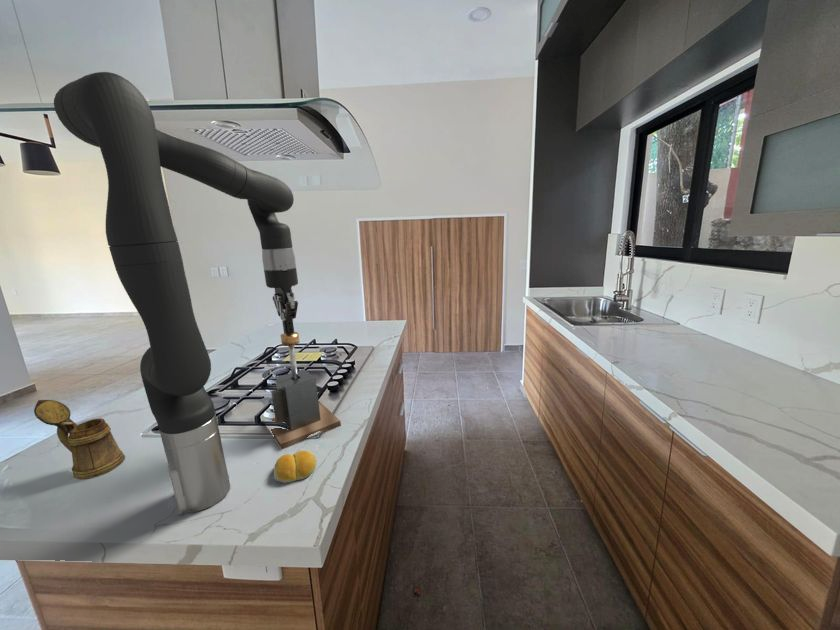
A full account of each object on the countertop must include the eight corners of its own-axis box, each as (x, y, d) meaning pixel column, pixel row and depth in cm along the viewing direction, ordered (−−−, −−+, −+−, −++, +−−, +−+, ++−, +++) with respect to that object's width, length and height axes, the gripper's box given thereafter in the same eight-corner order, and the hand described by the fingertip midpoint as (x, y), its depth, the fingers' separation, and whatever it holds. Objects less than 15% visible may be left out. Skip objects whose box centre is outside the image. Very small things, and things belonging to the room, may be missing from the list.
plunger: (288, 391, 89) (281, 339, 85) (281, 384, 93) (274, 334, 90) (311, 384, 92) (304, 334, 89) (303, 377, 97) (296, 329, 93)
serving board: (281, 449, 85) (280, 444, 84) (264, 423, 97) (263, 418, 97) (340, 425, 94) (340, 420, 94) (318, 404, 107) (317, 399, 106)
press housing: (282, 434, 89) (275, 390, 85) (273, 422, 95) (266, 380, 92) (320, 420, 95) (315, 378, 92) (309, 409, 101) (304, 369, 98)
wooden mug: (78, 456, 85) (56, 391, 81) (134, 453, 86) (116, 387, 81) (41, 482, 77) (15, 410, 72) (104, 478, 77) (82, 406, 73)
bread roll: (318, 476, 75) (316, 460, 74) (274, 489, 72) (272, 472, 71) (315, 454, 83) (313, 440, 82) (275, 464, 80) (272, 450, 79)
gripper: (257, 267, 88) (267, 331, 92) (272, 270, 78) (282, 342, 82) (286, 264, 92) (295, 325, 97) (304, 267, 82) (312, 335, 86)
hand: (289, 333), depth 89 cm, fingers closed
